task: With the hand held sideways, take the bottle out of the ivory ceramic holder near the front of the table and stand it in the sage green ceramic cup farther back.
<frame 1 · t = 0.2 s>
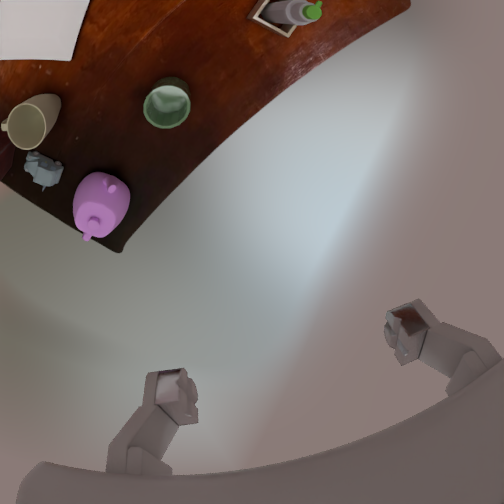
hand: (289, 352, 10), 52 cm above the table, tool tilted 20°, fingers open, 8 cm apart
ivory holder: (272, 12, 37), on the table
toy car: (45, 166, 49), on the table
teapot: (105, 189, 59), on the table
bottle: (272, 12, 38), resting in ivory holder
mug: (47, 105, 40), on the table
plate: (42, 6, 23), on the table
green cup: (169, 95, 47), on the table
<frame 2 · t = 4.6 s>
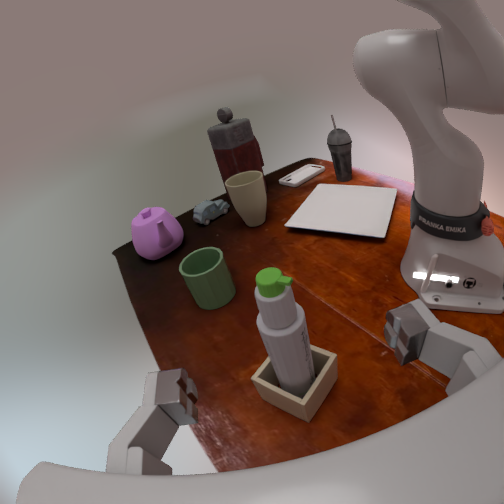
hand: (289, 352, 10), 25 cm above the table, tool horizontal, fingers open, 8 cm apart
ivory holder: (300, 389, 33), on the table
toy car: (211, 217, 81), on the table
red grey decanter: (250, 193, 87), on the table
teapot: (164, 249, 72), on the table
bottle: (300, 390, 33), resting in ivory holder
beverage cup: (344, 179, 80), on the table
mug: (256, 220, 73), on the table
plate: (346, 212, 65), on the table
phone case: (303, 177, 88), on the table
green cup: (215, 294, 53), on the table
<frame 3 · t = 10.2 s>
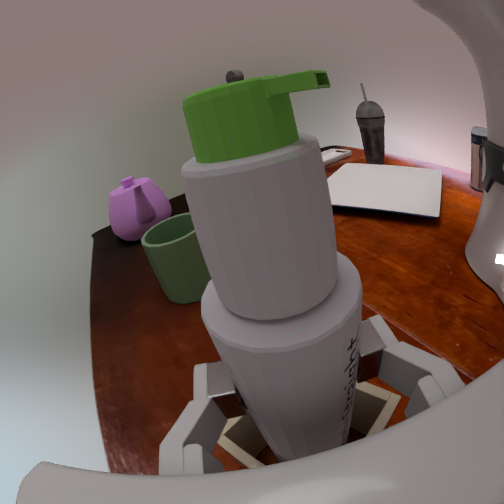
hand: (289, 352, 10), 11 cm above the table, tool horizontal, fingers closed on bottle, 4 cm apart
ivory holder: (312, 454, 15), on the table
teapot: (147, 230, 57), on the table
bottle: (312, 455, 15), resting in ivory holder, touching gripper
beverage cup: (375, 163, 63), on the table
plate: (382, 193, 47), on the table
beer can: (480, 189, 41), on the table
phone case: (325, 160, 72), on the table
green cup: (194, 282, 36), on the table
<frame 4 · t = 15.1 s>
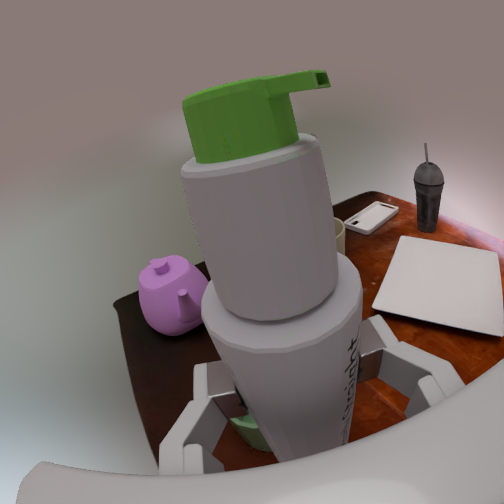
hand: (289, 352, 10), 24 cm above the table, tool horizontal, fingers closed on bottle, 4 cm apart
teapot: (186, 317, 50), on the table
bottle: (312, 455, 15), point 13 cm above the table, touching gripper
beverage cup: (426, 228, 56), on the table
mug: (322, 286, 49), on the table
plate: (445, 286, 40), on the table
phone case: (372, 220, 65), on the table
green cup: (272, 422, 29), on the table
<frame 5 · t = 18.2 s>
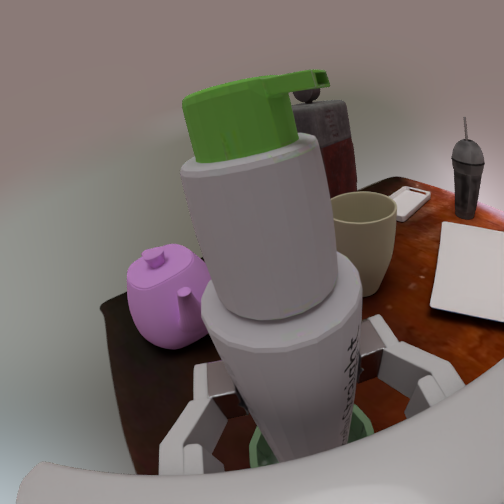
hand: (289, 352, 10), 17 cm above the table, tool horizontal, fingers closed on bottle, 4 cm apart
red grey decanter: (331, 226, 53), on the table
teapot: (189, 324, 39), on the table
bottle: (312, 455, 15), point 6 cm above the table, touching gripper
beverage cup: (464, 215, 45), on the table
mug: (361, 281, 38), on the table
plate: (499, 278, 29), on the table
phone case: (404, 205, 54), on the table
green cup: (316, 470, 18), on the table
when the fingers open (12 cm above the table, at t = 20.2 s): bottle stays where it is, resting on green cup.
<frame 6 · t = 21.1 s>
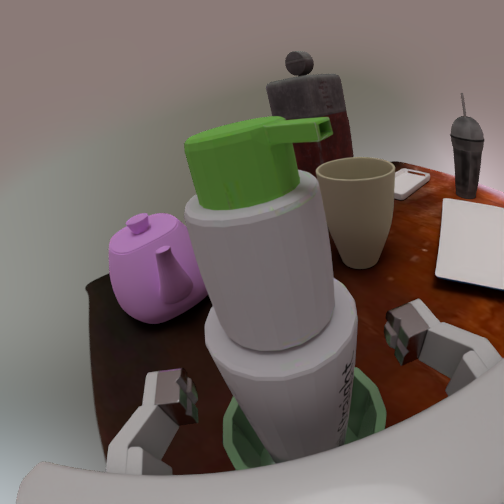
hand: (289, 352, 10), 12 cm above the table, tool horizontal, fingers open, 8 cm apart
red grey decanter: (328, 204, 51), on the table
teapot: (174, 300, 36), on the table
bottle: (310, 459, 15), resting on green cup
beverage cup: (465, 195, 43), on the table
mug: (359, 254, 36), on the table
phone case: (403, 186, 51), on the table
green cup: (311, 459, 16), on the table
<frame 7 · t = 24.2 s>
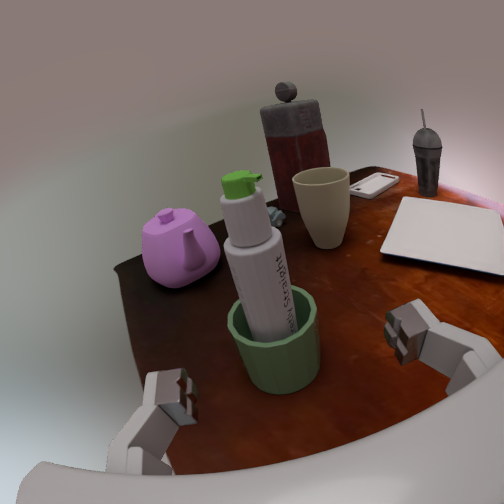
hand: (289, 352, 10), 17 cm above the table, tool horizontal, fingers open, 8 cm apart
toy car: (258, 230, 58), on the table
red grey decanter: (309, 203, 64), on the table
teapot: (189, 272, 50), on the table
bottle: (282, 362, 29), resting on green cup
beverage cup: (427, 194, 56), on the table
mug: (328, 239, 49), on the table
plate: (450, 238, 40), on the table
phone case: (374, 187, 65), on the table
green cup: (283, 363, 29), on the table
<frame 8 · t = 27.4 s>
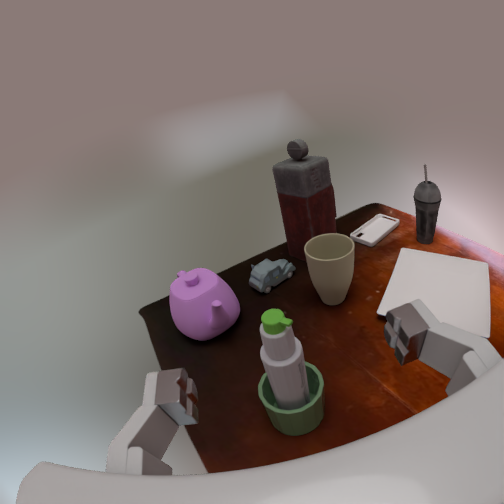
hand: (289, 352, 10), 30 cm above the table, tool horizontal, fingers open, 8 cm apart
toy car: (270, 280, 65), on the table
red grey decanter: (316, 249, 71), on the table
teapot: (212, 323, 56), on the table
bottle: (296, 411, 35), resting on green cup
beverage cup: (424, 240, 63), on the table
mug: (333, 294, 56), on the table
plate: (440, 293, 47), on the table
phone case: (376, 231, 71), on the table
green cup: (297, 411, 36), on the table
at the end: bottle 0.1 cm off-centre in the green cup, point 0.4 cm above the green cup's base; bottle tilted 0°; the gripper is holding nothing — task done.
